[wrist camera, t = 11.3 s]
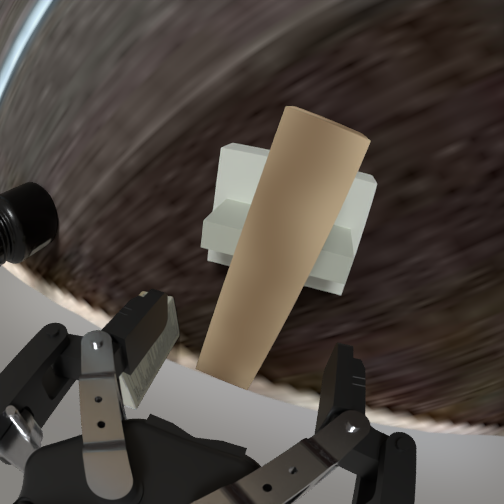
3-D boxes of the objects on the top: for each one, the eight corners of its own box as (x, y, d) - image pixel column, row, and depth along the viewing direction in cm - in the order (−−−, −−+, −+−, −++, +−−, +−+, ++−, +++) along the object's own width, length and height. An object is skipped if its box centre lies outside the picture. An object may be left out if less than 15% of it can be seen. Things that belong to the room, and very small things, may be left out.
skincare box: (142, 289, 36) (82, 356, 25) (175, 296, 35) (119, 370, 24) (151, 330, 39) (101, 398, 28) (182, 337, 38) (136, 411, 27)
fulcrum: (372, 175, 24) (388, 204, 17) (340, 277, 29) (340, 332, 22) (232, 143, 26) (195, 158, 19) (218, 246, 31) (184, 290, 24)
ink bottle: (19, 227, 38) (-40, 263, 27) (19, 172, 33) (-50, 202, 23) (61, 253, 37) (-1, 300, 27) (63, 194, 33) (-13, 234, 22)
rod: (361, 133, 16) (370, 140, 13) (259, 353, 25) (247, 390, 21) (295, 106, 16) (285, 106, 13) (213, 334, 25) (195, 368, 22)
